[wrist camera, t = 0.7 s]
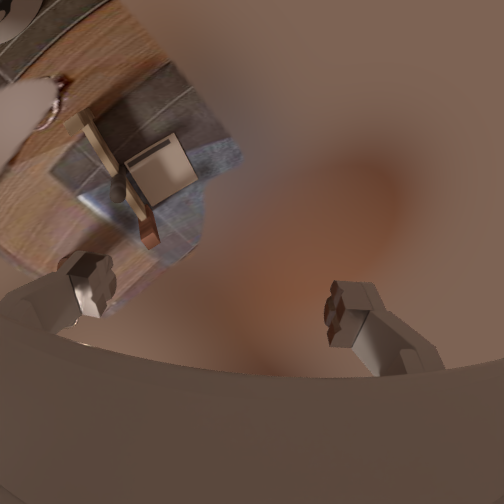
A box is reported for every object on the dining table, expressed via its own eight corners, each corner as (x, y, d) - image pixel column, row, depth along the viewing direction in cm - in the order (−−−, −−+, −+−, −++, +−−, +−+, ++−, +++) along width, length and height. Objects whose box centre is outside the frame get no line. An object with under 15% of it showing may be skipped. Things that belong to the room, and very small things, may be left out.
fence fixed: (77, 115, 38) (62, 123, 28) (89, 107, 38) (77, 112, 29) (117, 180, 48) (115, 206, 38) (128, 172, 48) (129, 196, 39)
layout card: (123, 162, 47) (123, 162, 46) (173, 132, 48) (174, 132, 47) (151, 206, 54) (152, 207, 54) (198, 178, 55) (198, 179, 55)
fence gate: (118, 182, 48) (117, 207, 39) (128, 175, 48) (129, 198, 39) (143, 218, 54) (148, 250, 45) (152, 212, 54) (160, 242, 45)
